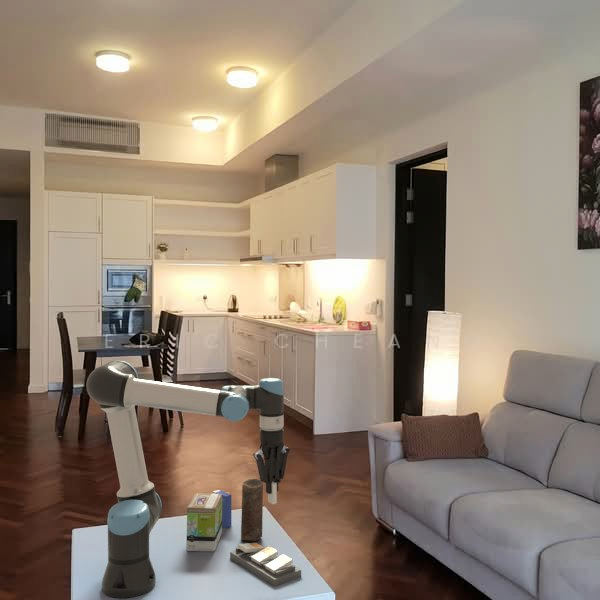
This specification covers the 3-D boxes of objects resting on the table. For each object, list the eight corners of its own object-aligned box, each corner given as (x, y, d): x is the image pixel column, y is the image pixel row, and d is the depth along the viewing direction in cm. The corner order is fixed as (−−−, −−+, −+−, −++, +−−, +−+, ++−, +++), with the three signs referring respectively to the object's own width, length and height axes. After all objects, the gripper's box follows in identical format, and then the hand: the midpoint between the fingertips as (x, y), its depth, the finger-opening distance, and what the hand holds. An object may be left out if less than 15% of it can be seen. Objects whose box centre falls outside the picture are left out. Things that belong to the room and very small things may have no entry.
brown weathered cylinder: (265, 536, 221) (265, 479, 220) (258, 544, 214) (258, 486, 213) (245, 533, 223) (245, 477, 222) (237, 542, 216) (237, 484, 215)
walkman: (231, 526, 230) (231, 493, 230) (225, 528, 228) (225, 495, 228) (218, 520, 236) (218, 488, 235) (212, 522, 234) (212, 490, 233)
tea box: (216, 552, 208) (215, 507, 208) (185, 551, 208) (185, 507, 208) (222, 533, 223) (222, 492, 223) (194, 533, 223) (194, 492, 223)
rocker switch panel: (274, 586, 185) (274, 575, 185) (230, 558, 203) (230, 548, 203) (301, 576, 191) (301, 565, 191) (255, 549, 210) (255, 540, 210)
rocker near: (274, 574, 187) (274, 570, 187) (265, 568, 191) (264, 564, 191) (292, 562, 192) (292, 559, 191) (283, 557, 195) (283, 553, 195)
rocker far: (245, 552, 199) (246, 548, 199) (237, 547, 202) (238, 543, 203) (263, 551, 203) (264, 547, 203) (255, 546, 207) (255, 542, 207)
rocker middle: (260, 565, 193) (259, 561, 193) (251, 560, 197) (250, 556, 197) (278, 554, 197) (277, 550, 197) (269, 549, 201) (268, 546, 201)
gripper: (261, 433, 191) (262, 511, 191) (295, 427, 199) (295, 501, 199) (247, 429, 196) (248, 504, 197) (281, 423, 205) (281, 495, 205)
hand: (272, 502), depth 198 cm, fingers closed
